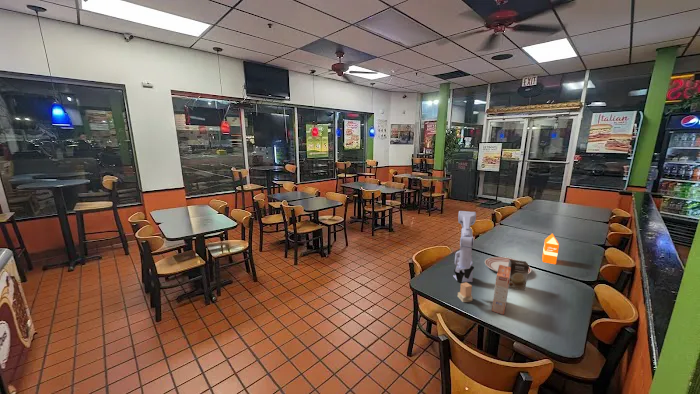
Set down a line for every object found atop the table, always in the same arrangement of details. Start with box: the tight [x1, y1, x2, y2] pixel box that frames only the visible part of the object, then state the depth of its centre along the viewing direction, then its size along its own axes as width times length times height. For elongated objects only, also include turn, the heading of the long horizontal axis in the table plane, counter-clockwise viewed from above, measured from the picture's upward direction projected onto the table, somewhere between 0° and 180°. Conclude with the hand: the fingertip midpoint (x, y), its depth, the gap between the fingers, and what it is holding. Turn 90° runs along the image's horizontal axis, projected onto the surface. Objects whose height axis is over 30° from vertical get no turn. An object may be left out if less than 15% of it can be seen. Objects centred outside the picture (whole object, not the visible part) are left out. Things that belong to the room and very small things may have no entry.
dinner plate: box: [484, 256, 532, 275], centre depth 182 cm, size 28×27×3 cm
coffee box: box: [508, 258, 530, 291], centre depth 158 cm, size 9×6×16 cm
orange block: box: [459, 282, 473, 297], centre depth 147 cm, size 4×4×6 cm
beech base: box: [457, 291, 474, 303], centre depth 148 cm, size 6×6×3 cm
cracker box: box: [491, 265, 511, 316], centre depth 139 cm, size 14×6×21 cm, turn 146°
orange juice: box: [541, 233, 560, 265], centre depth 192 cm, size 8×9×20 cm
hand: (463, 280), depth 148 cm, fingers open, 7 cm apart
